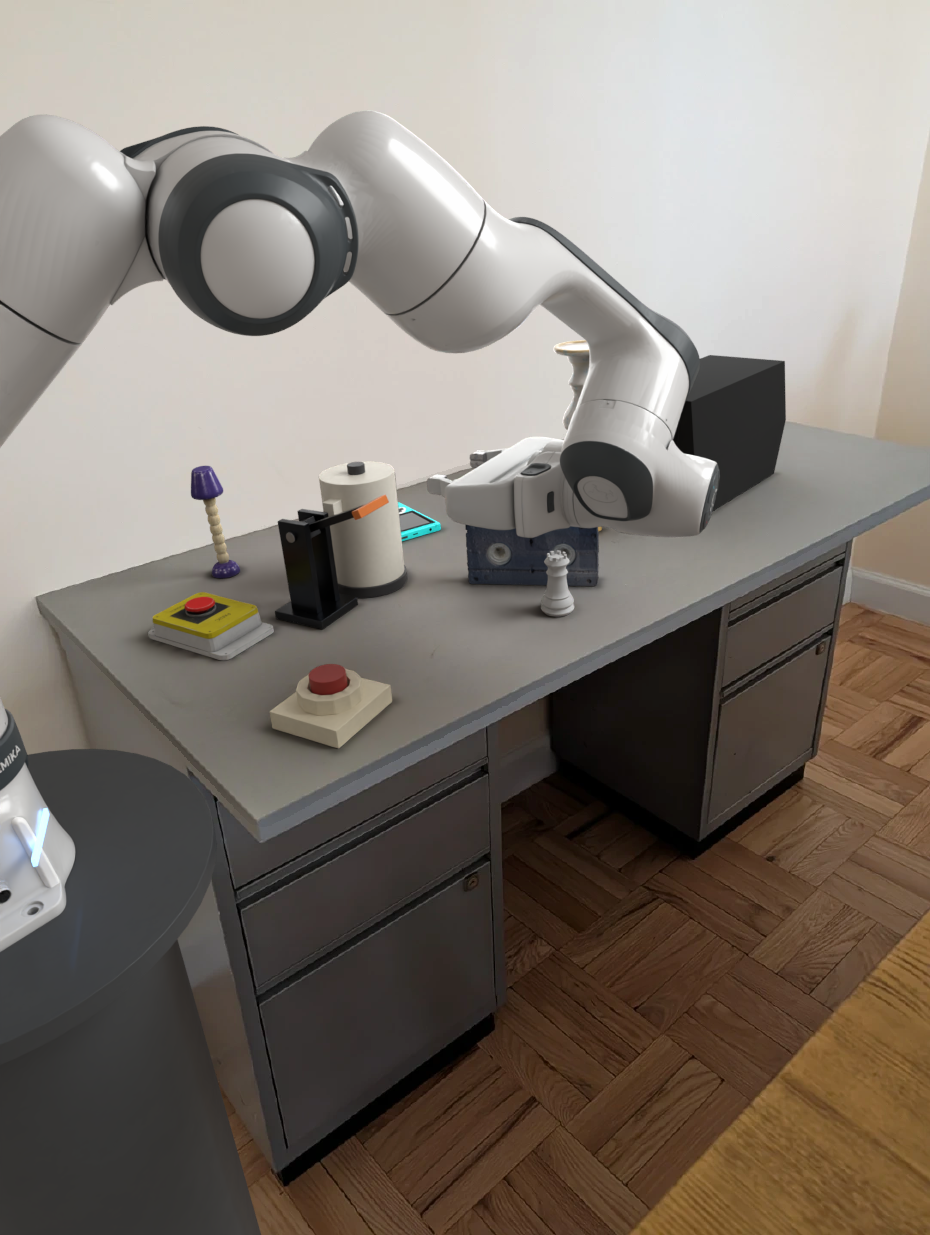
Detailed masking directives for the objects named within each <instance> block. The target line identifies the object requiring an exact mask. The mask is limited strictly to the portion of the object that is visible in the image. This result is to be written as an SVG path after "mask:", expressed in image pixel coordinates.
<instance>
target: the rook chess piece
mask: <svg viewBox="0 0 930 1235" xmlns="http://www.w3.org/2000/svg"><path fill="white" fill-rule="evenodd" d="M569 562H570V561H569V559H568V558H567V554H566V553H565V552H562V554H561V551H557V554H554V551H551V552H550V553H547V558H546V559H545V561H544V563H545V564H546V565H547V567H548V570H547V571H546V573H547V575H548V582H547V585H546V588H545V589H546V590H545V591H544V593H543V596H542V598H541V601H540V602H541V605H540V609H541V611H542V612H543V613H544V614H545V615H547V616H549V617H556V618H558V617H559V618H560V617H565V616H568V615H570V614H571V613H572V612H573V611H574V609H575V604H574V602H575V598H574V596H573V595H572V593H571V590H569V586H568V585H567V575H566V574H567V573H568V571H567V569H566V566H567V565H568V563H569Z"/></svg>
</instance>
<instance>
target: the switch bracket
mask: <svg viewBox="0 0 930 1235" xmlns="http://www.w3.org/2000/svg"><path fill="white" fill-rule="evenodd" d="M312 516H314V518H315V521H319V520H321V519H324V518H327V517H329V516H328V513H327V512H323V511H319V510H314V509H306V508H300V509H298V510H297V518H298V520H292V519H288V518H287V519H286V518H281V519H279V520H277V527H278V533H279V539H280V545H281V549H282V550H281V551H282V557H283V562H284V568H285V575H286V582H287V586H288V592H289V598H290V601H288V602H287V603H286V604H284V605H282V606H281V607H279V608H277V609H276V610H274V615H275V619H276V620H280V621H285V622H287V623H288V622H289V623H293V624H297V625H301V626H305V627H310V628H314V629H319V630H324V629H326V628H327V627H328V626H330V625H331V624H332V623H334V622H335V621H337V620H339V619H340V618H341V617H343V616H344V615H346V614H347V613H349V612H350V611H351V610H353V609H354V608H356V607H357V606H358V605H359V600H358V598H357V597H353V596H349V595H344V594H339V588H338V581H337V574H336V566H335V559H334V552H333V545H332V538H331V530H330V526H328V527H325V528H322V529H320V531H321V533H320V534H318V535H316V536H315V537H313V538H311V534H310V527H309V523H306V522H300V521H301V520H304V519H307V518H309V517H312Z"/></svg>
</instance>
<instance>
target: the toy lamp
mask: <svg viewBox="0 0 930 1235" xmlns="http://www.w3.org/2000/svg"><path fill="white" fill-rule="evenodd" d="M213 468H214V467H212V466H211V465H200V466H196V467H194V468H193V469H191V473H190V497H191V498H192V499H193V500H195V501H197V500H198V501H202V502H203V505H204V506H205V507H204V510H205V513H206V515H207V522H208V524H209V531H210V534H211V541H212V543H213V544H214V547H213V548H214V552H215V553H216V561H217V562H215V564H214V565H213V566H212V568H211V576H212V577H213V578H216V579H227V578H231V577H234V576H236V575H238V574H239V573H240V572H241V568H240V566H239V564H238V563H237V562H236V561H234V560H232V559H230V556H229V555H230V554H229V553H228V552H227V551H228V547H227V544H226V543H225V542H226V540H225V534H223V532H224V531H223V526H222V524H221V517H220V515H219V507H218V506H217V504H216V502H217V500H216V499H217V498H218V497H220V496H222V495H223V493H224V487H223V485H222V483H221V481H220V480H219V477H218V476H217V474H216V472H215V470H214V469H213Z"/></svg>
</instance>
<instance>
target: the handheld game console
mask: <svg viewBox="0 0 930 1235" xmlns="http://www.w3.org/2000/svg"><path fill="white" fill-rule="evenodd" d="M398 507H399V517H400V526H401V539H402V542H405V541H408V540H412V539H416V538H418V537H422V536H425V535H429V534H433V533H435V532H439V531H441V530H442V528H441V526H442V524H441V522H439V521H437V520H435V519H433V518H431V517H429V516H427V515H425V514H423V513H421V512H419V511H417V510H415V509H413V508H411V507H410V506H408V505H405V504H404V503H401V502H400V501H398Z"/></svg>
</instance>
